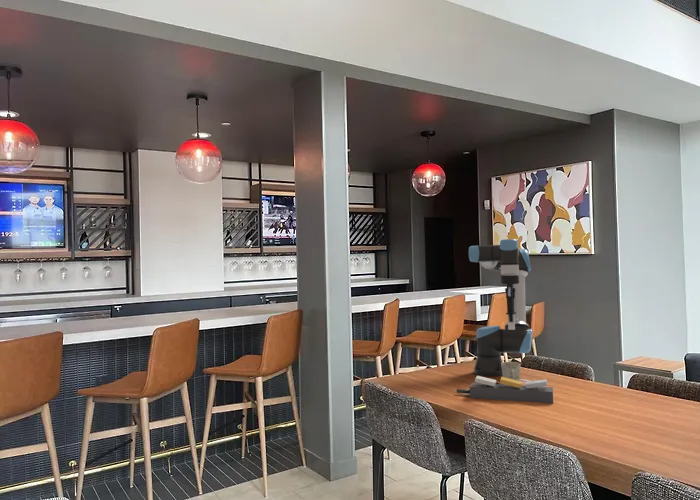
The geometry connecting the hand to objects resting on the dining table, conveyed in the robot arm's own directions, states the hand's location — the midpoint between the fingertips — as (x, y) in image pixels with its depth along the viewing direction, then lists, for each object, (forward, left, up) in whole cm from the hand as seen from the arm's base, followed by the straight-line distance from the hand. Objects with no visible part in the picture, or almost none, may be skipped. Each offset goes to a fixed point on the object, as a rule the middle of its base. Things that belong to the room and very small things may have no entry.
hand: (511, 329), depth 228 cm
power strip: (+13, -3, -26) cm, 30 cm away
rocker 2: (+13, 0, -20) cm, 24 cm away
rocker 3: (+13, +10, -20) cm, 26 cm away
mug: (-7, -1, -27) cm, 28 cm away
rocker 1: (+13, -10, -20) cm, 26 cm away
